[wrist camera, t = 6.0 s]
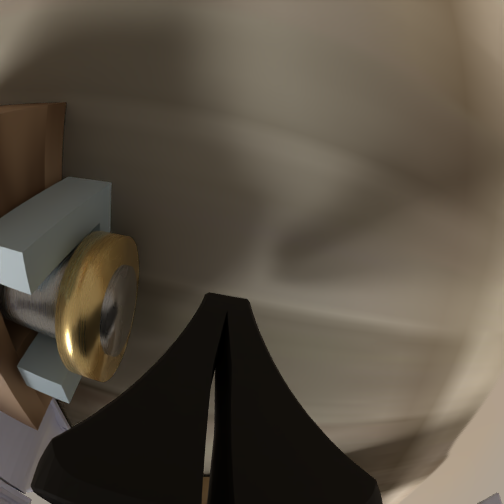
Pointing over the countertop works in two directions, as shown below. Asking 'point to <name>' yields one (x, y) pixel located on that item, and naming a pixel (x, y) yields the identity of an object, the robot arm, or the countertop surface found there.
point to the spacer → (50, 262)
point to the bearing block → (5, 200)
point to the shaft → (84, 304)
